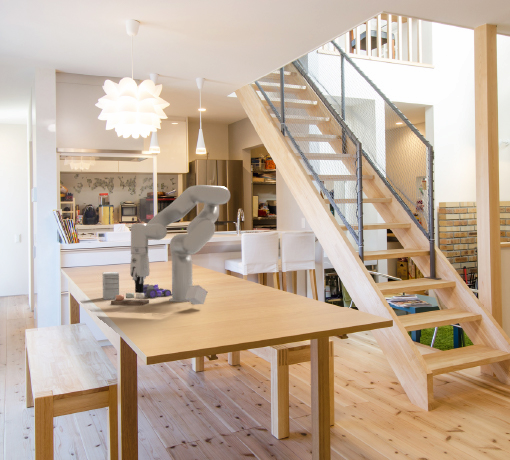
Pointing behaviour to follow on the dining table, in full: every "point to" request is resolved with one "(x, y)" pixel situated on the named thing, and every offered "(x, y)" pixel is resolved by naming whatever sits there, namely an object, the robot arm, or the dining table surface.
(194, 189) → the robot arm
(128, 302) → the button plate
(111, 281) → the supplement box
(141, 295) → the cream button
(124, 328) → the dining table surface
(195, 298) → the gray cube
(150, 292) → the toy race car
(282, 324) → the dining table surface
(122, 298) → the terracotta button
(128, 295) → the sage button
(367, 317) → the dining table surface
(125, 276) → the dining table surface
